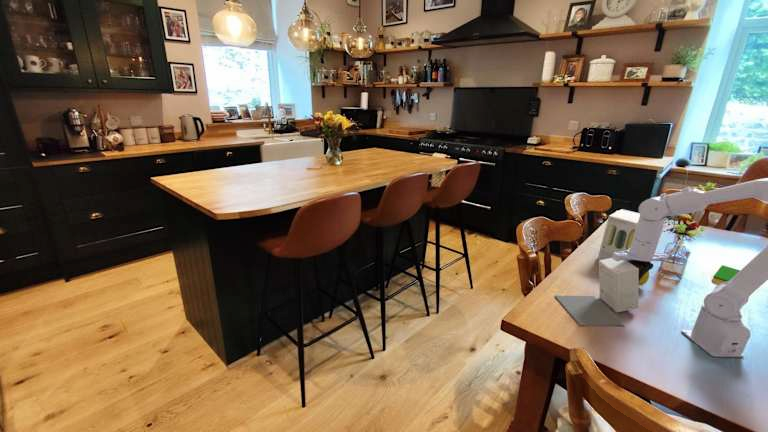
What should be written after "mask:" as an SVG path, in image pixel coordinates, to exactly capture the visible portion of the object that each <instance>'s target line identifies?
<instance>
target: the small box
mask: <svg viewBox="0 0 768 432" xmlns="http://www.w3.org/2000/svg"><path fill="white" fill-rule="evenodd" d="M598 276H599V277H598V278H599V279H598V280H599V287H598V288H599V298H600V299H601V300H602V301H604V303H606V305H608V306H609V307H610V308H611V309H612V310H613V311H614V312H615V313H621V312H625V311H630V310H633V309H638V308H639V287H640V285H639V268H637V267H635V266H634V265H632V264H631V263H629V262H628V261H626V260H620V261H615V260H614V259H612V258H608V259H604V260H600V259H598Z"/></svg>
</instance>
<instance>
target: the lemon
mask: <svg viewBox="0 0 768 432" xmlns="http://www.w3.org/2000/svg"><path fill="white" fill-rule="evenodd" d="M649 278H650V270H649V271H648V272H647V273H645V274H644V275H643V277H642V278H641V279H640V280H639V286H644V285H646V284H647V283H648V280H649Z"/></svg>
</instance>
